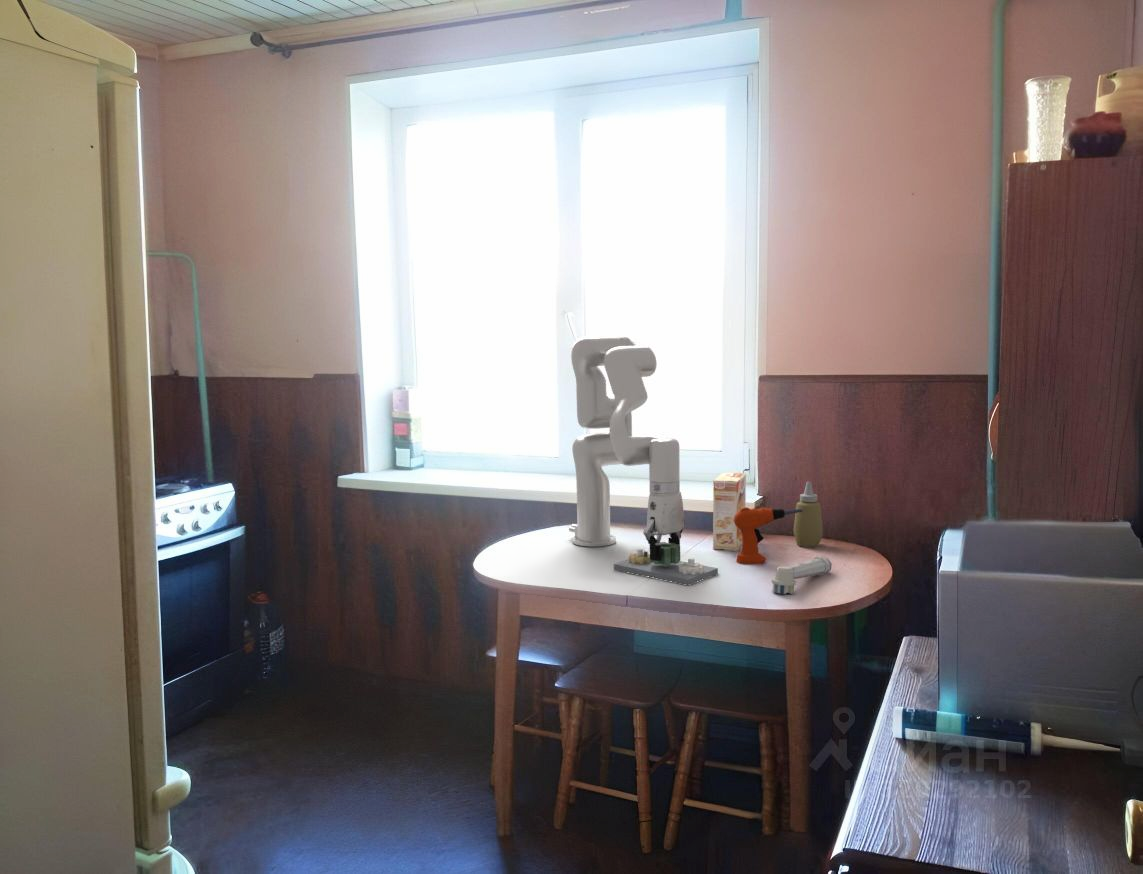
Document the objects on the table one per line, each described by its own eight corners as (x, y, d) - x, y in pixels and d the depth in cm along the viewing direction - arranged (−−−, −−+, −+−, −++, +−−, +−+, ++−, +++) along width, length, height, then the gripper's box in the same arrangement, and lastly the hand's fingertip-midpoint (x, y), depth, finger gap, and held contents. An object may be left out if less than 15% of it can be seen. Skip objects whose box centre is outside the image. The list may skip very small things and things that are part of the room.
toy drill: (810, 557, 230) (804, 501, 228) (739, 567, 230) (731, 511, 228) (805, 552, 235) (798, 497, 233) (735, 562, 235) (728, 507, 233)
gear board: (613, 569, 227) (613, 552, 227) (644, 559, 237) (644, 543, 236) (688, 585, 212) (687, 567, 211) (717, 574, 221) (717, 556, 221)
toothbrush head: (835, 558, 220) (789, 565, 201) (833, 584, 220) (787, 595, 201) (815, 555, 224) (768, 562, 204) (813, 581, 224) (766, 591, 204)
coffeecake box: (737, 551, 244) (737, 481, 241) (712, 549, 246) (711, 480, 244) (746, 539, 258) (746, 472, 255) (722, 537, 260) (722, 471, 258)
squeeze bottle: (791, 547, 247) (791, 483, 244) (795, 541, 254) (795, 479, 252) (821, 549, 243) (822, 485, 241) (824, 543, 251) (825, 480, 249)
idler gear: (668, 566, 219) (668, 550, 218) (644, 561, 224) (644, 546, 223) (685, 560, 224) (685, 544, 224) (661, 555, 229) (661, 540, 229)
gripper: (655, 494, 213) (656, 566, 215) (696, 484, 226) (696, 552, 228) (631, 491, 218) (631, 561, 220) (672, 481, 231) (673, 548, 233)
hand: (664, 556), depth 224 cm, fingers closed on idler gear, 7 cm apart
